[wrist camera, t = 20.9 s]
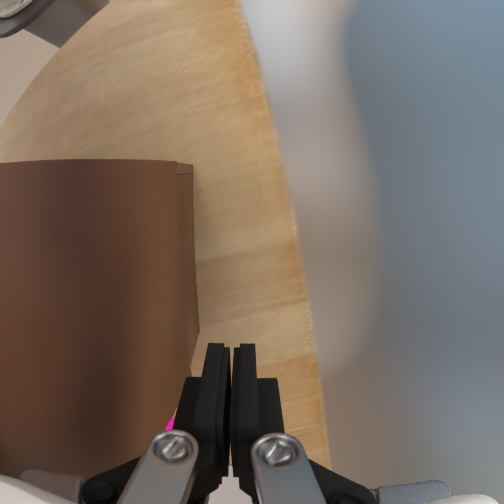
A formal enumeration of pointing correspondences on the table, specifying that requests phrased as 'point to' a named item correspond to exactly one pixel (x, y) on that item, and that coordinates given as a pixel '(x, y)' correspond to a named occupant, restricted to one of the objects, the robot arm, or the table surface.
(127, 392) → the lid
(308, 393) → the table surface
